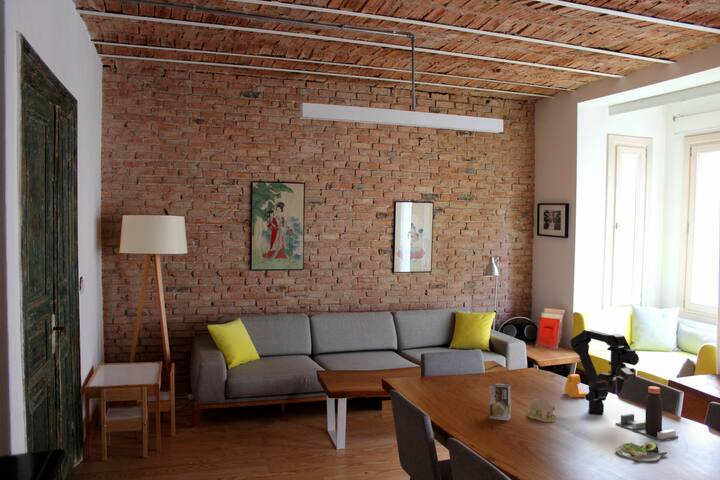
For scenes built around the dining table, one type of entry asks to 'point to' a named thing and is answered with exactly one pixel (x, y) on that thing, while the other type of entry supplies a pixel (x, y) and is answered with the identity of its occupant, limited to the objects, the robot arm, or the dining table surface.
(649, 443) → the salad plate
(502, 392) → the coffee box
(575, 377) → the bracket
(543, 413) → the ceramic model
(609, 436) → the dining table surface
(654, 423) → the vinegar
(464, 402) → the dining table surface
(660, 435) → the vise
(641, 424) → the sliding jaw
